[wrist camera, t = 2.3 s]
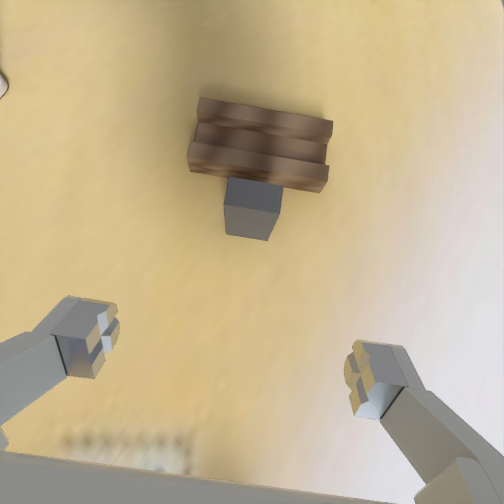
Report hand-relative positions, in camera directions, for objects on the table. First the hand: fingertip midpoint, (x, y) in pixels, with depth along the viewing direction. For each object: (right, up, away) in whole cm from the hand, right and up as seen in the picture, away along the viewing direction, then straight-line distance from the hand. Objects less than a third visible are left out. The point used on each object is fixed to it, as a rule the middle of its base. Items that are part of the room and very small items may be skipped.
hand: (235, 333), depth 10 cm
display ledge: (+2, +17, +30) cm, 35 cm away
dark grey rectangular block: (0, +6, +28) cm, 29 cm away
